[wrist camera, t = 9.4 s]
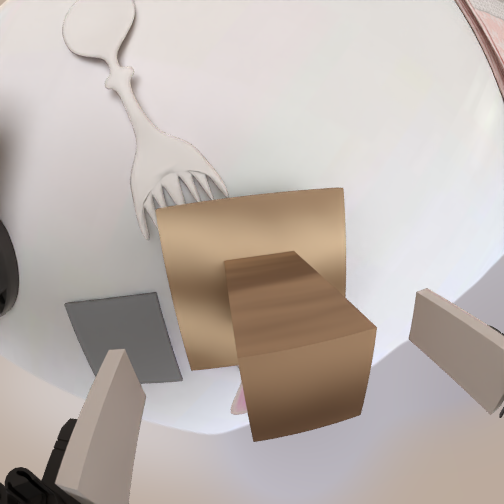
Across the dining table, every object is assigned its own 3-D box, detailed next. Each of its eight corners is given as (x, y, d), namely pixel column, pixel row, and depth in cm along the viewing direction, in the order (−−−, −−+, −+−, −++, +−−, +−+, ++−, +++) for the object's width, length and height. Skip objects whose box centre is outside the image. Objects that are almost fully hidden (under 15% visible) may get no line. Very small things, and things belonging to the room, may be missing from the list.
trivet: (100, 381, 29) (99, 383, 29) (66, 302, 26) (64, 304, 25) (182, 378, 30) (182, 381, 30) (156, 292, 27) (155, 294, 27)
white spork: (151, 236, 26) (142, 244, 23) (63, 21, 17) (52, 10, 13) (231, 194, 26) (233, 196, 23) (125, -15, 17) (118, -30, 13)
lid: (158, 208, 17) (78, 250, 6) (336, 187, 18) (460, 204, 7) (192, 362, 20) (186, 484, 9) (338, 337, 21) (408, 430, 10)
